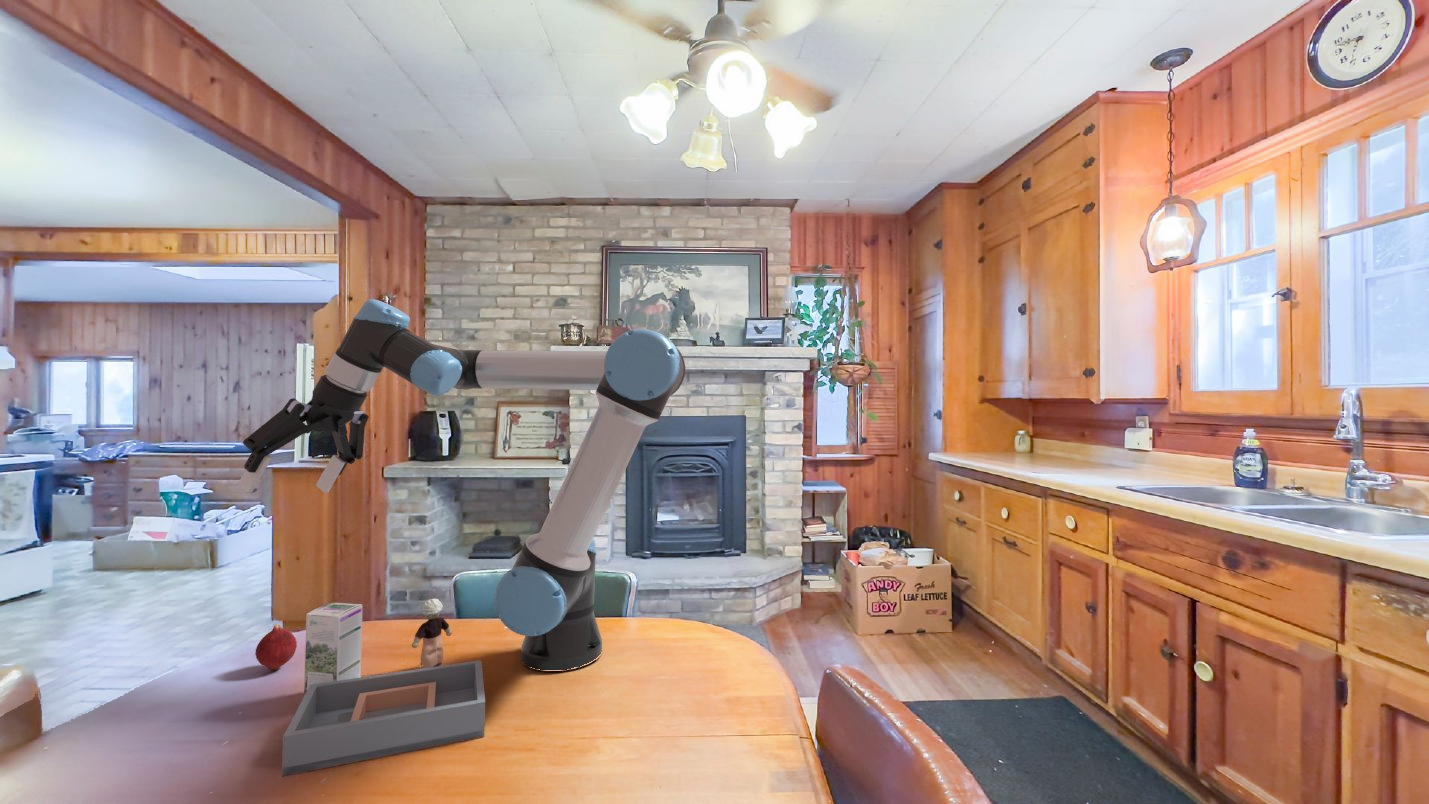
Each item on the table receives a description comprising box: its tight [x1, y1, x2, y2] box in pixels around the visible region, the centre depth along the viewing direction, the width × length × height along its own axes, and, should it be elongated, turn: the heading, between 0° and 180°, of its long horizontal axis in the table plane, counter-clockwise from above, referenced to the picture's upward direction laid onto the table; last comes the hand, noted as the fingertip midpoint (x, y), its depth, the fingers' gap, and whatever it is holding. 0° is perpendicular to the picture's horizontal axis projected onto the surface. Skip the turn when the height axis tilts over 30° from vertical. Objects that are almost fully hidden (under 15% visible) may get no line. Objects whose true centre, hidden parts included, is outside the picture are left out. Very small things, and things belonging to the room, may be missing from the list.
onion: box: [254, 623, 298, 671], centre depth 102 cm, size 6×6×8 cm
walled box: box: [281, 659, 486, 777], centre depth 85 cm, size 24×15×5 cm, turn 114°
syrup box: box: [303, 602, 363, 697], centre depth 93 cm, size 6×6×14 cm
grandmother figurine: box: [411, 598, 453, 669], centre depth 104 cm, size 8×4×13 cm, turn 164°
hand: (285, 488), depth 100 cm, fingers open, 13 cm apart
